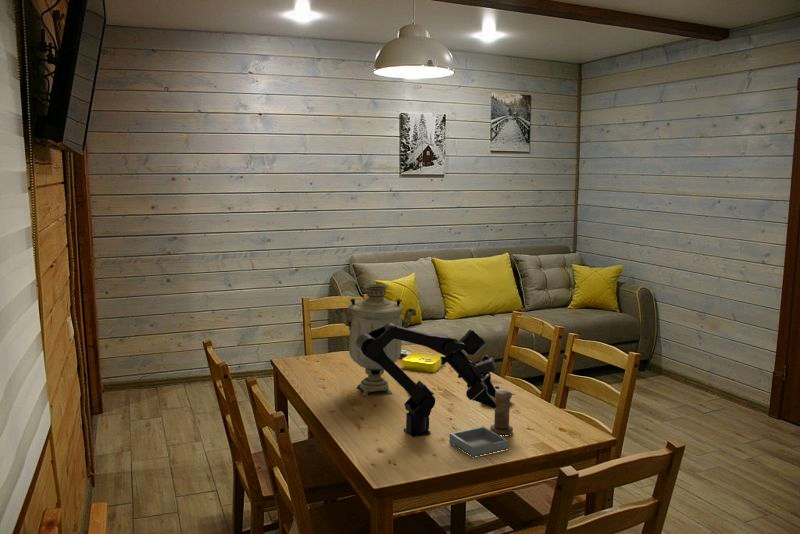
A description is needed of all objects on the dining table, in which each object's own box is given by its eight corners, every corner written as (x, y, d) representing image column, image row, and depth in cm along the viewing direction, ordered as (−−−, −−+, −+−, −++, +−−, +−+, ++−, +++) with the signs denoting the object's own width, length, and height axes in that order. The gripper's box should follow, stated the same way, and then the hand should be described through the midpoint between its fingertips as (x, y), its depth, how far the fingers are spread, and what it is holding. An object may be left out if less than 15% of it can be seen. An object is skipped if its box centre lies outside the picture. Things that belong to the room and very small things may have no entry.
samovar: (418, 379, 265) (419, 280, 260) (412, 401, 240) (414, 291, 234) (344, 376, 268) (344, 278, 263) (331, 397, 242) (330, 289, 237)
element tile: (445, 364, 288) (445, 353, 288) (433, 374, 275) (433, 362, 274) (413, 360, 294) (413, 350, 293) (400, 369, 280) (400, 358, 280)
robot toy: (468, 396, 248) (484, 407, 234) (468, 384, 248) (484, 394, 234) (499, 394, 252) (516, 404, 237) (499, 382, 251) (516, 392, 237)
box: (473, 458, 192) (473, 448, 192) (449, 442, 203) (449, 433, 203) (508, 450, 198) (508, 440, 197) (483, 435, 209) (483, 426, 208)
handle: (499, 438, 207) (500, 397, 205) (485, 430, 213) (487, 391, 211) (517, 434, 210) (518, 394, 209) (503, 426, 216) (504, 388, 215)
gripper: (477, 357, 201) (513, 396, 200) (484, 342, 219) (517, 377, 218) (451, 381, 204) (486, 418, 203) (460, 364, 222) (492, 399, 221)
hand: (496, 402), depth 211 cm, fingers open, 9 cm apart
